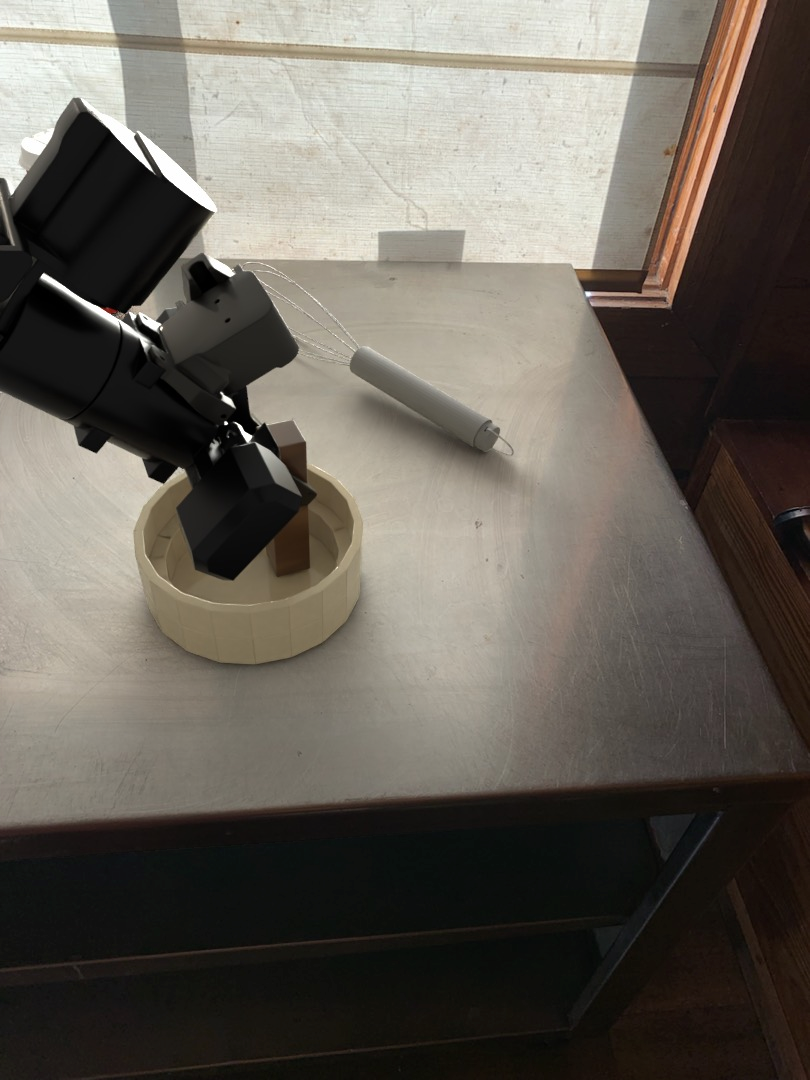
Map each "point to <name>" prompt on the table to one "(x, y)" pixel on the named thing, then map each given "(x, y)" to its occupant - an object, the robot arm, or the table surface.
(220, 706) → the table surface
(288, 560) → the stir stick
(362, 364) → the kitchen whisk
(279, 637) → the bowl
